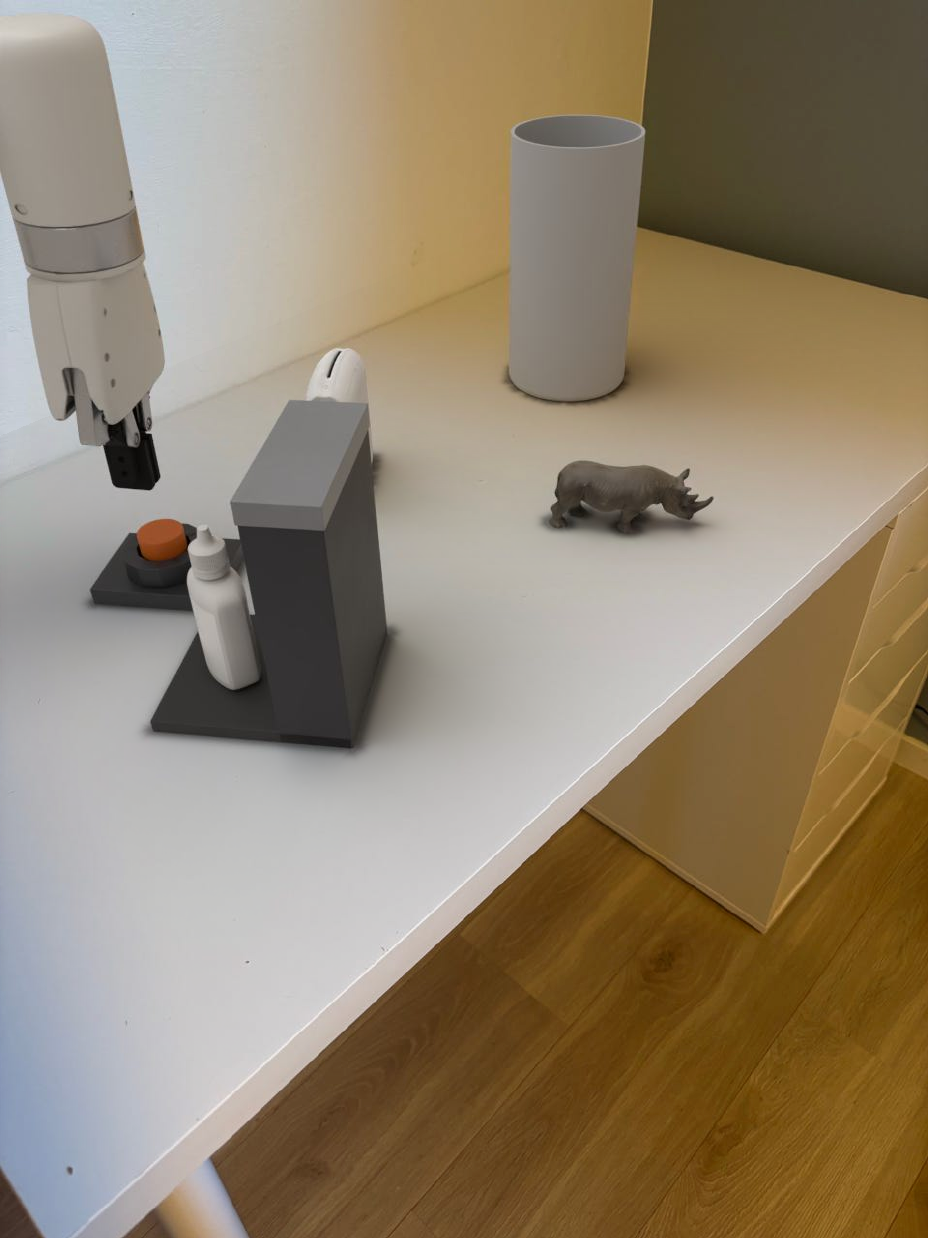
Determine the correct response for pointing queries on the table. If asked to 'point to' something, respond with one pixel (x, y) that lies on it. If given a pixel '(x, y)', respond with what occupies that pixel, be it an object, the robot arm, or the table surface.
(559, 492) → the rhino figurine
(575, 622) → the table surface
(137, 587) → the control pad
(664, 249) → the table surface
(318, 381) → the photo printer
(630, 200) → the cylinder vase
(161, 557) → the button
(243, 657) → the eye dropper bottle
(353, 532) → the coffee maker
